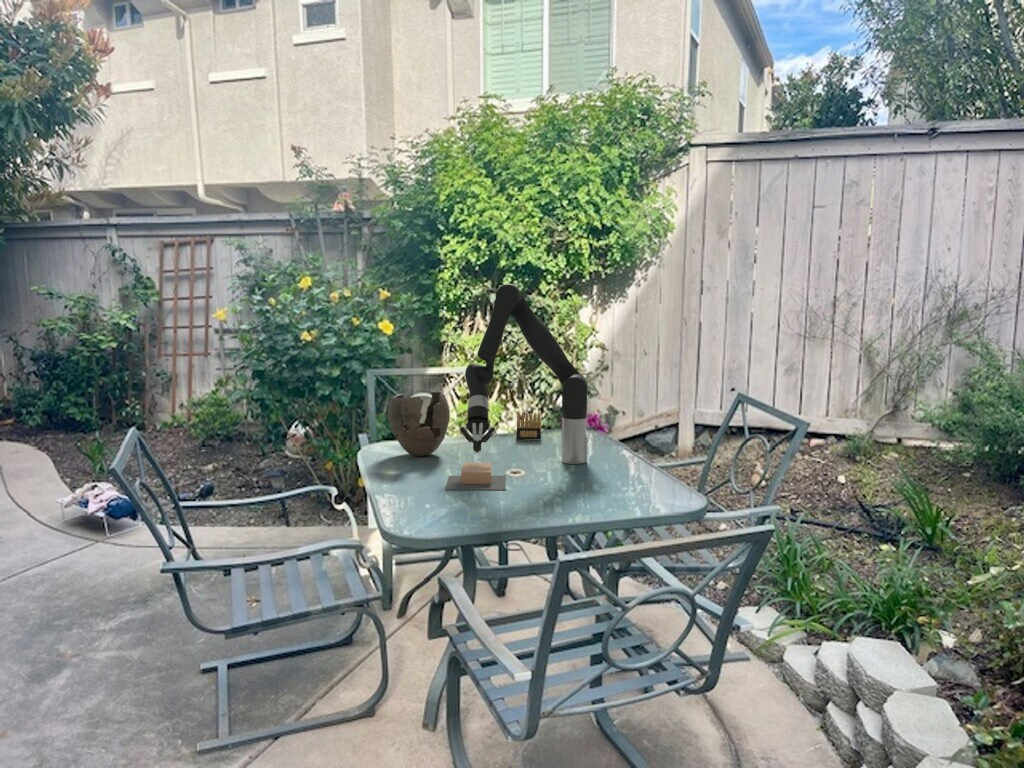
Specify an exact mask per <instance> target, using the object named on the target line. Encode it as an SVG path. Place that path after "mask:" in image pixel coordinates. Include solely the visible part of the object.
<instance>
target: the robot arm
mask: <svg viewBox="0 0 1024 768" xmlns="http://www.w3.org/2000/svg"><path fill="white" fill-rule="evenodd" d="M510 317H512V318H513V319H514V321H515V322H516V324H517V325H518V327H519V330H520V332H521V333H522V336H523V337H524V339H525V341H526V342H527V344H528V345H529V347H530V349H532V351H533V352H534V353H535V354H536V356H537V357H538V359H540V360H541V361H542V362H543V363H544V365H546V366H547V367H548V368H549V369H550V370H551V371H552V372H553V373H554V375H555V377H556V378H557V380H558V382H560V385H561V387H562V388H561V411H562V412H561V413H562V415H561V416H562V417H561V418H562V421H561V462H562V463H564V464H569V465H581V463H582V464H587V462H588V461H587V460H588V458H587V457H588V437H587V421H588V419H587V417H588V415H587V414H588V382H587V380H586V378H585V376H583V375H582V374H581V373H580V372H579V371H578V369H576V367H575V366H574V365H573V364H572V363H571V362H570V360H569V359H568V357H567V355H566V354H565V352H564V350H563V349H562V347H561V346H560V344H559V342H558V341H557V339H556V338H555V337H554V335H553V333H551V331H550V329H549V328H548V327H547V326H546V325H545V324H544V322H543V321H542V319H540V318H539V316H537V314H535V312H534V311H533V310H532V309H531V307H530V305H529V304H528V302H527V301H526V299H525V297H524V295H523V293H522V291H521V290H520V288H519V287H518V286H517V285H515V284H512V283H505V284H502V285H500V286H499V287H498V288H497V289H496V293H495V300H494V303H493V309H492V313H491V316H490V320H489V322H488V324H487V327H486V329H485V332H484V335H483V337H482V340H481V342H480V345H479V348H478V350H477V358H479V359H481V360H482V361H484V362H485V365H480V364H478V363H475V362H473V363H472V362H471V363H470V364H468V365H467V366H466V368H465V371H464V374H465V376H464V378H465V380H466V384H467V388H468V391H469V392H468V393H469V394H468V402H467V403H468V405H467V421H466V423H465V425H464V426H461V427H460V433H461V435H462V436H463V438H464V439H466V440H467V442H469V443H472V449H473V452H474V453H478V454H479V453H480V452H481V451H482V444H483V443H487V442H488V441H489V439H490V438H492V437H493V435H494V434H495V433H496V428H495V427H494V426H491V425H490V422H489V410H490V408H489V407H490V406H489V388H488V387H487V386H488V385H490V384H491V383H492V381H493V380H494V379H493V378H494V370H495V369H494V368H495V362H496V357H497V354H498V352H499V350H500V347H501V344H502V340H503V337H504V334H505V329H506V326H507V324H508V321H509V318H510ZM471 435H472V436H471Z"/></svg>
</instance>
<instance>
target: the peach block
mask: <svg viewBox="0 0 1024 768" xmlns="http://www.w3.org/2000/svg"><path fill="white" fill-rule="evenodd" d="M461 468H462V469H461V471H460V472H461V473H460V476H461V484H491V476H493V474H492V462H463V463H462V467H461Z"/></svg>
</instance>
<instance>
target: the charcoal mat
mask: <svg viewBox="0 0 1024 768" xmlns="http://www.w3.org/2000/svg"><path fill="white" fill-rule="evenodd" d="M506 477H507V476H506V475H491V484H461V475H448V477H447V478H448V479H447V482H446V484H445V487H444V488H445V489H444V491H506V489H507V488H506V486H507V485H506V484H507V483H506V480H507V479H506Z"/></svg>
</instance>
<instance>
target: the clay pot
mask: <svg viewBox="0 0 1024 768" xmlns="http://www.w3.org/2000/svg"><path fill="white" fill-rule="evenodd" d="M430 395H431V399H430V403H429V404H428V406H427V407H426V413H425V415H426V416H425V419H424V421H423V422H421V418H422V416H423V414H422V412H421V411H422V406H423V404H424V399H422V397H421V396H411V397H410V396H409V397H404V396H405V395H404V393H398V394H396V395H394V396H392V397H391V398H390V401H389V403H388V411H387V413H388V414H387V418H388V423H389V426H390V429H391V432H392V434H393V435H394V437H395V440H396V441H397V442H398V443H399V445H400V446H401V448H402V449H403V450H404V451H405V452H406V453H408V454H409V455H411V456H414V457H423V456H427V455H431V454H432V453H434V452H435V451H437V449H439V447H440V446H441V444H442V442H443V441H444V439H445V437H446V434H447V431H448V428H449V423H450V418H451V417H450V415H451V412H450V406H449V403H448V399H447V398H446V395H445V394H444V392H442V391H430Z"/></svg>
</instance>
